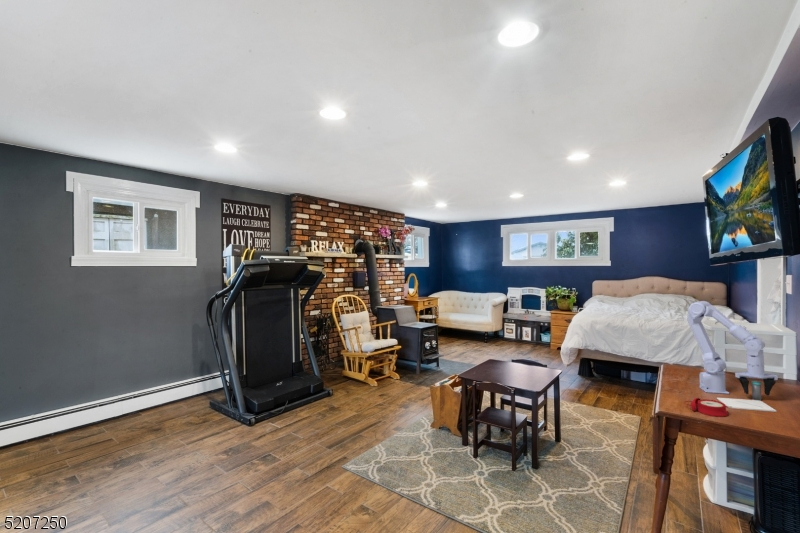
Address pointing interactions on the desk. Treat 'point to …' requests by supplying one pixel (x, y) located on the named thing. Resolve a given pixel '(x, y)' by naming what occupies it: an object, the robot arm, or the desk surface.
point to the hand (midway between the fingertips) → (756, 394)
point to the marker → (756, 390)
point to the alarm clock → (709, 407)
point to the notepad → (746, 404)
